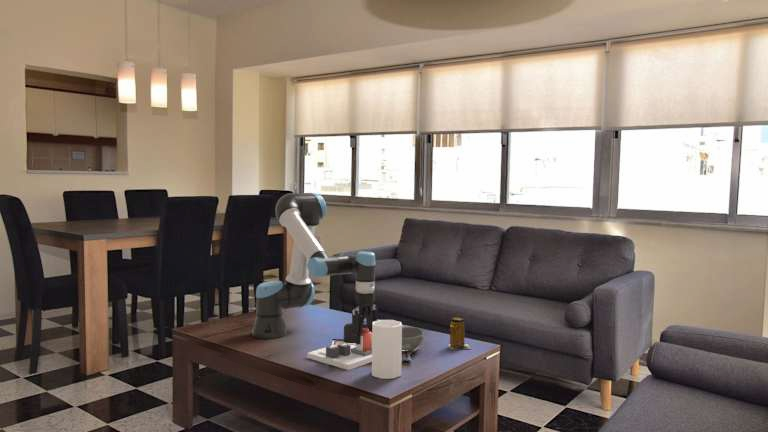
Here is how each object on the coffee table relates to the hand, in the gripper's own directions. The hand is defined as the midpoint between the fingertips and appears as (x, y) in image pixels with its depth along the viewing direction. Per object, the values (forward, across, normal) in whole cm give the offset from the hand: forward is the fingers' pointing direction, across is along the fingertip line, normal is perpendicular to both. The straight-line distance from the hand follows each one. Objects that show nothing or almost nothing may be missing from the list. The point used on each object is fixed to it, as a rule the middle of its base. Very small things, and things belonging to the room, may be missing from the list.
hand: (364, 350), depth 223 cm
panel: (+3, -6, +5) cm, 8 cm away
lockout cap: (+1, 0, 0) cm, 1 cm away
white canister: (+3, -10, -19) cm, 21 cm away
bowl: (+3, +18, -5) cm, 18 cm away
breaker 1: (+1, -13, +5) cm, 14 cm away
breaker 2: (+1, -7, +4) cm, 9 cm away
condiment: (+3, +38, -20) cm, 43 cm away
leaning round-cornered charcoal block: (+3, +13, +14) cm, 20 cm away
